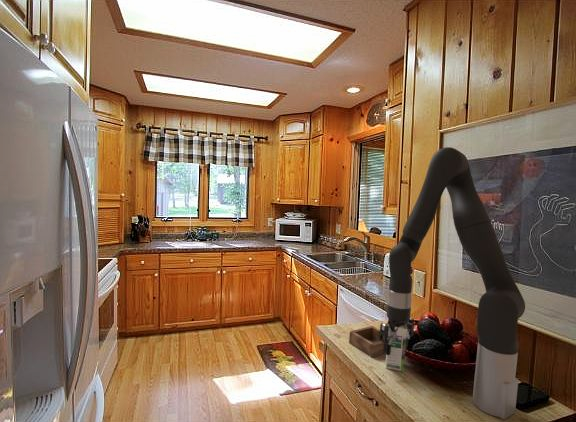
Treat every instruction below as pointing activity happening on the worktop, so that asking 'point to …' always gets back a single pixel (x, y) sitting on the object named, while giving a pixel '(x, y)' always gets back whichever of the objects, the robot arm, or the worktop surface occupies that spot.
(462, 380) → the worktop surface
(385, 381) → the worktop surface
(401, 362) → the syrup box
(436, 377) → the worktop surface
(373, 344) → the brown square open box
